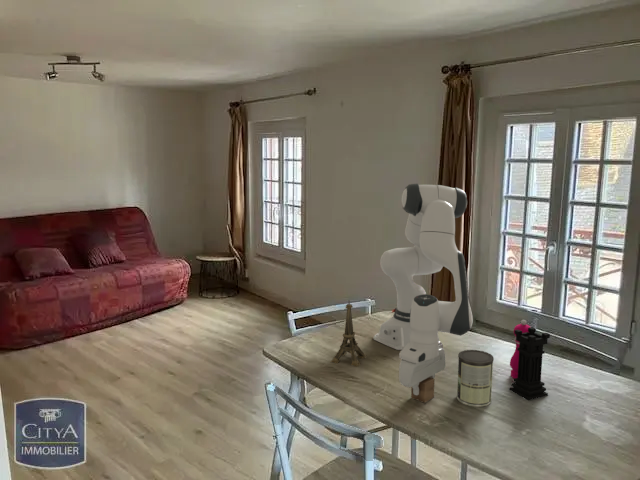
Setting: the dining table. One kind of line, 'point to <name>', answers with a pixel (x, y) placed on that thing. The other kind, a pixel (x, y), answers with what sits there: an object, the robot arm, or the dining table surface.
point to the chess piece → (530, 364)
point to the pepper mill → (515, 357)
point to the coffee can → (475, 378)
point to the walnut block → (425, 390)
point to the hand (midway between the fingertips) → (422, 390)
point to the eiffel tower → (347, 346)
